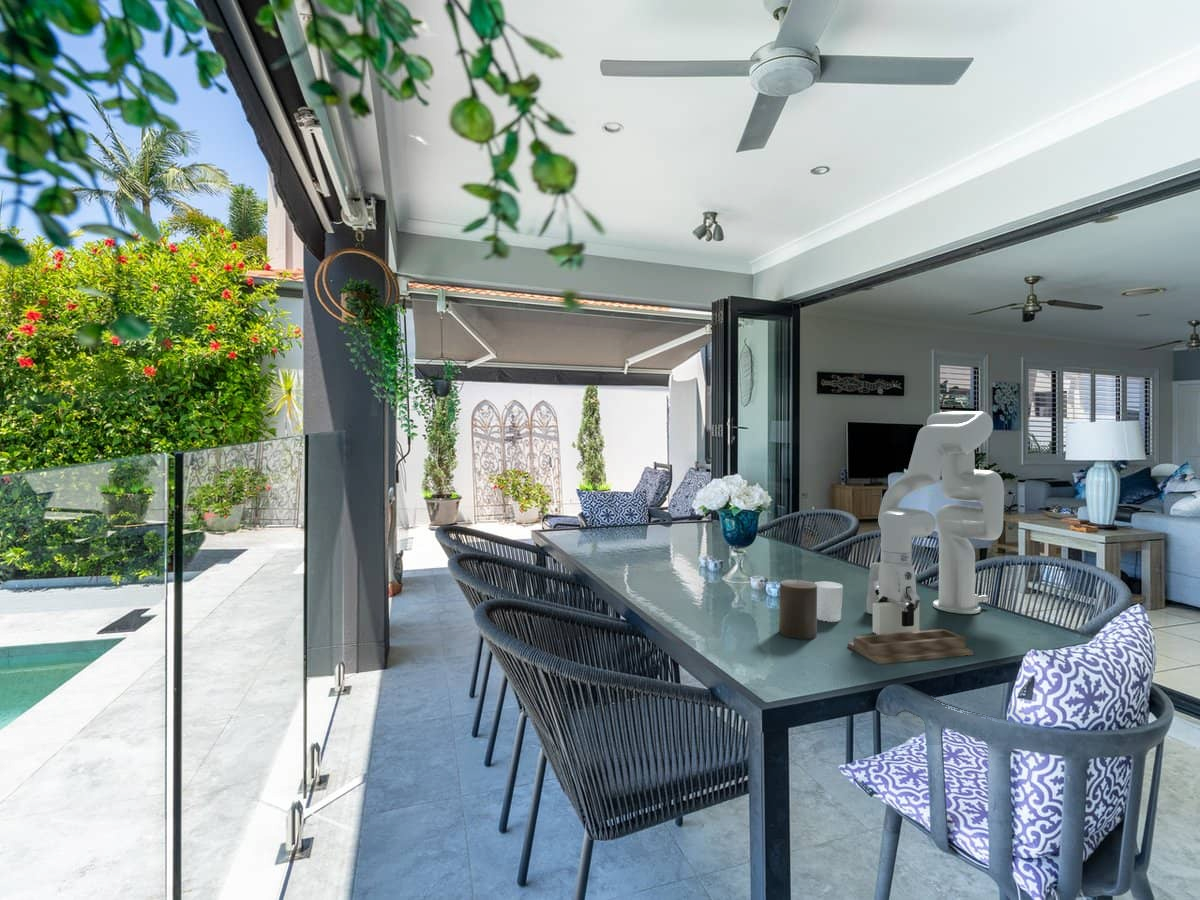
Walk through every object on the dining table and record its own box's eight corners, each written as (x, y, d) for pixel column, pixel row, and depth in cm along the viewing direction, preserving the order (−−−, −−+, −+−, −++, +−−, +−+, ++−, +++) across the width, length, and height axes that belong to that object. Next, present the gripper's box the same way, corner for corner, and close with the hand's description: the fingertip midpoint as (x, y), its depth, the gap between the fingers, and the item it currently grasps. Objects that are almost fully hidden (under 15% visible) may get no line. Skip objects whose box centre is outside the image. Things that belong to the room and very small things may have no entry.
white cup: (845, 623, 176) (845, 588, 176) (815, 622, 178) (815, 587, 177) (840, 615, 184) (840, 581, 183) (812, 614, 185) (812, 580, 185)
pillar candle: (798, 642, 161) (798, 584, 161) (771, 631, 170) (772, 576, 169) (824, 636, 166) (825, 580, 165) (797, 626, 174) (798, 573, 174)
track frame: (937, 638, 163) (937, 625, 162) (973, 655, 151) (973, 641, 151) (847, 646, 157) (847, 633, 157) (877, 664, 146) (877, 649, 146)
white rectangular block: (911, 629, 171) (911, 600, 170) (919, 632, 168) (919, 603, 167) (872, 632, 168) (872, 603, 168) (879, 636, 165) (879, 606, 165)
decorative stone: (905, 612, 185) (905, 563, 185) (908, 618, 180) (908, 567, 179) (865, 609, 189) (865, 560, 188) (867, 615, 183) (867, 565, 183)
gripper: (931, 563, 160) (930, 629, 160) (887, 550, 177) (887, 610, 177) (905, 564, 158) (904, 631, 159) (863, 552, 175) (863, 612, 176)
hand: (895, 620), depth 168 cm, fingers open, 9 cm apart
